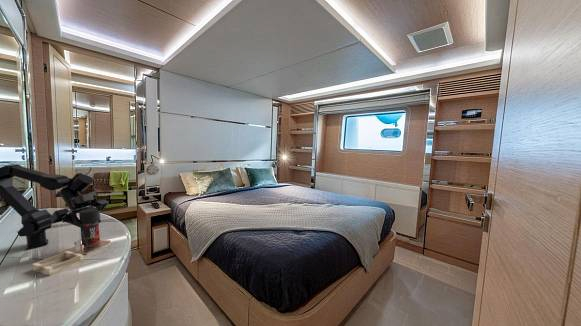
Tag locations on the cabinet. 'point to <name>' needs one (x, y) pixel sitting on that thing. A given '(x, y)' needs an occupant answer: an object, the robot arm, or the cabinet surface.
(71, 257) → the beige square frame
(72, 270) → the cabinet surface
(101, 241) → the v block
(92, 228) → the deodorant
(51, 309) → the cabinet surface
